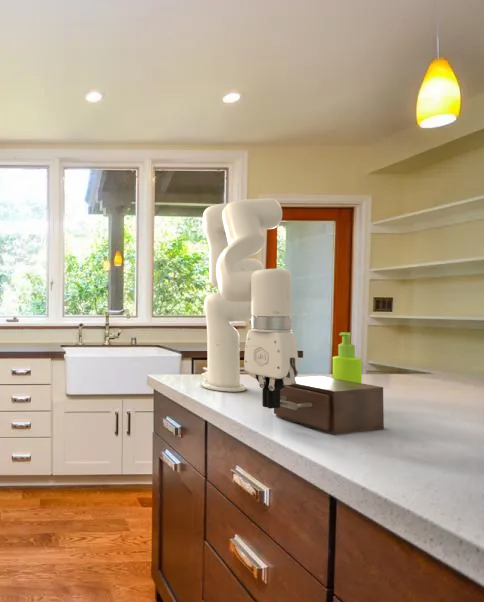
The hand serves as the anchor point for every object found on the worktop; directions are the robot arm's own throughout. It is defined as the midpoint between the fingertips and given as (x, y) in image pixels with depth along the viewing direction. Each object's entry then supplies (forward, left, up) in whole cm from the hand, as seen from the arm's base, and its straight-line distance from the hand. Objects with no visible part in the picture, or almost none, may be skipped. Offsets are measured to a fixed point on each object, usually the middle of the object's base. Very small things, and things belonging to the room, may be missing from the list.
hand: (271, 407), depth 82 cm
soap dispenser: (-8, +34, -5) cm, 35 cm away
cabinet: (0, +16, -5) cm, 17 cm away
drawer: (0, +11, -4) cm, 12 cm away
